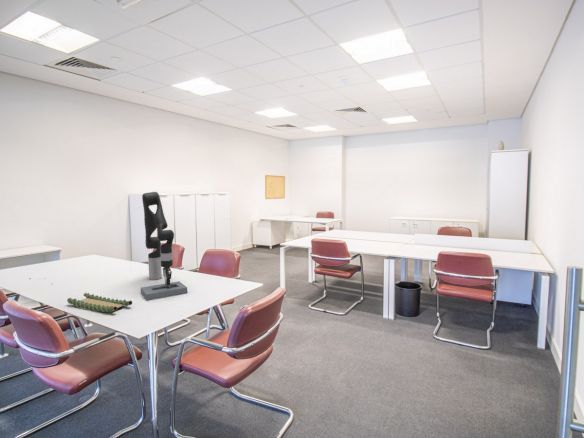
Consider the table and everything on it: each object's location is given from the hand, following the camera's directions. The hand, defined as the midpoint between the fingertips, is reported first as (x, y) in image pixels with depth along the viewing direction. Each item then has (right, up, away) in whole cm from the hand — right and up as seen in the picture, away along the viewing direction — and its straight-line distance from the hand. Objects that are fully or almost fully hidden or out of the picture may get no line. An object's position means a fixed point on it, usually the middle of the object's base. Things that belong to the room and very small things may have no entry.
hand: (167, 283), depth 224 cm
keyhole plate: (-2, -6, -1) cm, 7 cm away
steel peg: (0, -6, +1) cm, 6 cm away
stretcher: (-31, -9, -26) cm, 42 cm away
